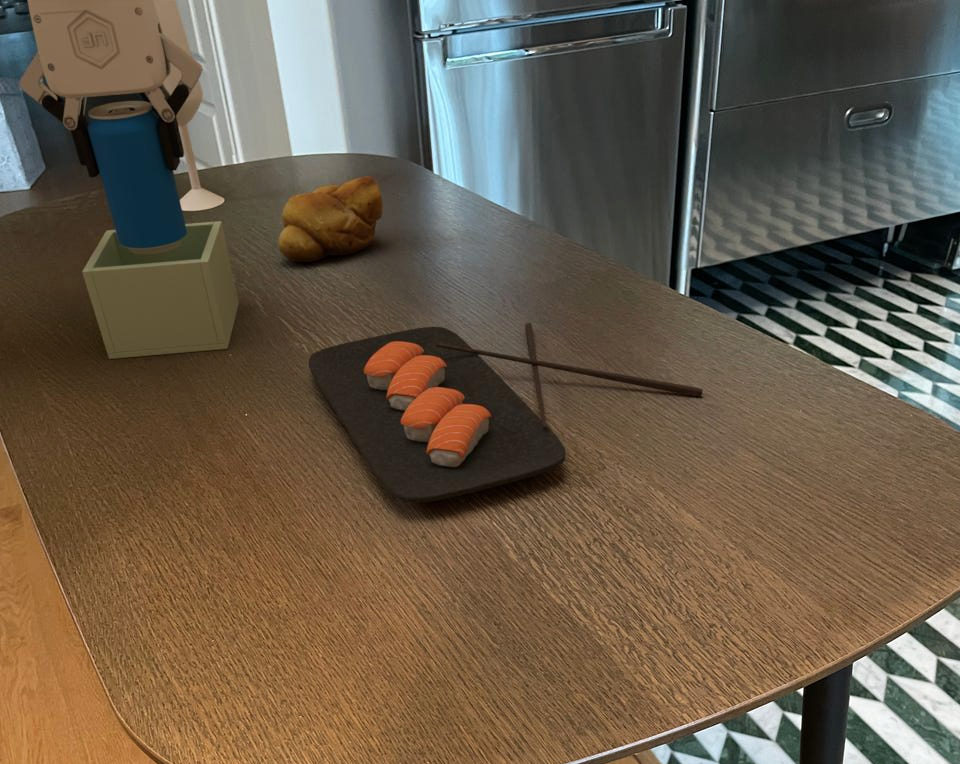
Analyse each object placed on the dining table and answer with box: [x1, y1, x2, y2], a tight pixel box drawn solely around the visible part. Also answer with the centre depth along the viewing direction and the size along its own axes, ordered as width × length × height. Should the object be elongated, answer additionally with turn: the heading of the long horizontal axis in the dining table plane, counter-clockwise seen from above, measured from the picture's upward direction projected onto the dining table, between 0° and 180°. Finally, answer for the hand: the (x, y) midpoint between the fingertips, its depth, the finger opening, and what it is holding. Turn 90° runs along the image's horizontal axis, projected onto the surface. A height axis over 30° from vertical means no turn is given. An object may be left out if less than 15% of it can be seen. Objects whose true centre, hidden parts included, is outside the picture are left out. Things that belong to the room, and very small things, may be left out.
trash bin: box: [81, 220, 240, 360], centre depth 100 cm, size 12×12×9 cm
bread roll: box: [277, 176, 384, 262], centre depth 116 cm, size 13×10×8 cm
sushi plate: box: [308, 323, 704, 504], centre depth 86 cm, size 29×30×4 cm
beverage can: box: [87, 100, 187, 254], centre depth 93 cm, size 6×6×12 cm
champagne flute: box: [150, 0, 225, 212], centre depth 128 cm, size 7×7×24 cm
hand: (135, 167), depth 93 cm, fingers closed on beverage can, 6 cm apart
